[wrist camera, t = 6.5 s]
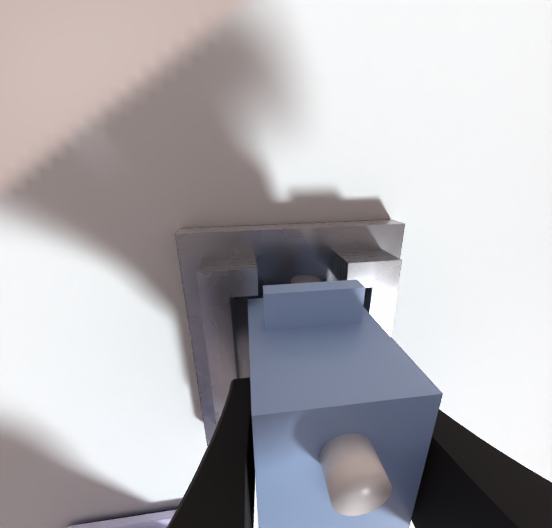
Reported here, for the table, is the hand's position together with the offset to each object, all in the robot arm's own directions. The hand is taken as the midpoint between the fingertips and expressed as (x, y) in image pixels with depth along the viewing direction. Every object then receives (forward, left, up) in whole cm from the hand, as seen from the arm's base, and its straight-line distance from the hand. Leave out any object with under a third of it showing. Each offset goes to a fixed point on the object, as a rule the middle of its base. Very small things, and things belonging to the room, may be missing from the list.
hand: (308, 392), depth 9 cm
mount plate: (0, 0, -4) cm, 4 cm away
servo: (0, 0, -2) cm, 2 cm away
